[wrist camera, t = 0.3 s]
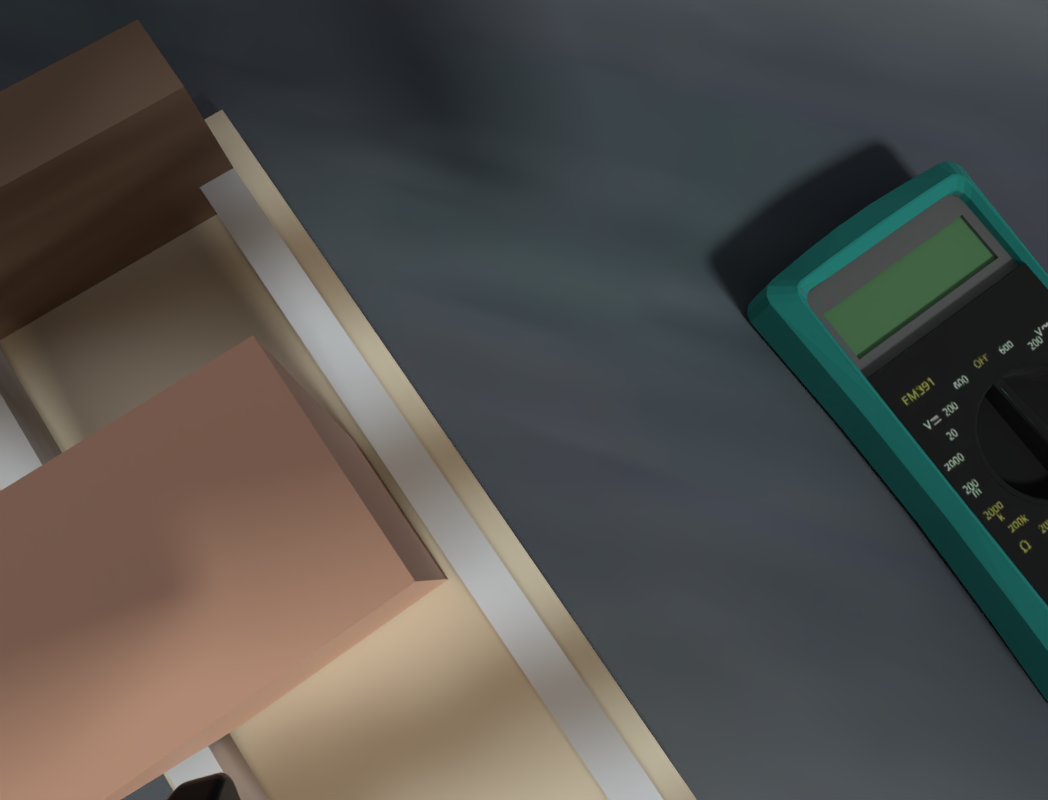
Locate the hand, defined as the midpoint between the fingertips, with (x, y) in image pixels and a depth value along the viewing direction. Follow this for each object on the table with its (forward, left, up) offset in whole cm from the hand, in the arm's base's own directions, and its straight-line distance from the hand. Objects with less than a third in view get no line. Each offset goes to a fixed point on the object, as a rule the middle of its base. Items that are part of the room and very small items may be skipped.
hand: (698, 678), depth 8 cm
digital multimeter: (-3, -13, -15) cm, 20 cm away
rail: (+6, +5, -14) cm, 16 cm away
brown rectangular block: (+5, +5, -12) cm, 14 cm away
